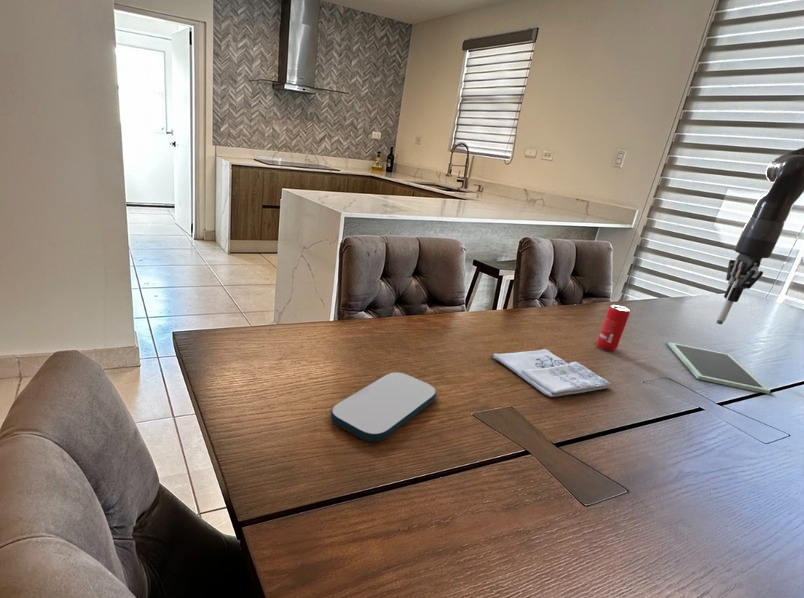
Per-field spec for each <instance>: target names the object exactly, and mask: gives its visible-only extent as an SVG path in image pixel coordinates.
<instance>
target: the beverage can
mask: <svg viewBox="0 0 804 598" xmlns="http://www.w3.org/2000/svg"><path fill="white" fill-rule="evenodd" d="M629 316H630V309H629V308H628V307H626V306H623V305H618V304H610V307H608V309H607V312H606V315H605V318H604V321H603V324H602V326H601V329H600V332H599V335H598V337H597V340H596V343H597V347H598V348H599V349H601V350H604V351H608V352H614V351H615V350H616V349H617V348H618V346H619V343H620V341H621V338H622V335H623V332H624V330H625V327H626V325H627V322H628V318H629Z"/></svg>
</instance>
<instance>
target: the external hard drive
mask: <svg viewBox="0 0 804 598" xmlns="http://www.w3.org/2000/svg"><path fill="white" fill-rule="evenodd" d="M436 396H437V390H436V388H435V387H434V386H433V385H431V384H429V383H427V382H425V381H423V380H421V379H419V378H416V377H414V376H412V375H409V374H407V373H404V372H400V371H395V372H389V373H387V374H385V375H383V376H381V377H380V378H378V379H377V380H375V381H373V382H371V383H369V384H368V385H365V386H364V387H363V388H361V389H359V390H357V391H356V392H354V393H352V394H351V395H349V396H347V397H345V398H344V399H342V400H341V401H339V402H337V403H336V404H335V405H333V407H332V408H331V411H330V419H331V421H332V423H333V424H335V425H336V426H337V427H339V428H340V429H341V428H342V429H343V430H345V431H346V432H348V433H351V434H352V435H353V436H356V437H358V438H359V439H361V440H363V441H366V442H371V443H373V442H380V441H383V440H384V439H387V438H388V437H389V436H391V435H392V434H393V433H394V432H396V431H397V430H399V429H400V428H401V427H402V426H404V425H405V424H406V423H408V422H409V421H410V420H411V419H413V418H414V417H415V416H417V415H418V414H420V413H421V412H422V411H424V410H425V408H427V407H429V406H430V405H431V404H432V403H433V402H434V401H435V400H436Z"/></svg>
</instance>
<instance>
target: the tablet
mask: <svg viewBox="0 0 804 598" xmlns="http://www.w3.org/2000/svg"><path fill="white" fill-rule="evenodd" d="M667 345H668V346H669V348H670V349H671V350H672V351H673V353H674V354H675V355H676V356H677V357H678V358H679V359H680V360H681V362H682V363H683V364H684V365H685V366H686V368H687V369H688V370H689V371H690V372H691V373H692V374H693V376H694V377H695V378H696V379H697V380H700V381H704V382H709V383H715V384H720V385H724V386H728V387H733V388H738V389H743V390H748V391H752V392H757V393H762V394H767V395H770V393H771V389H769V388H768V387H767V386H766V385H765V384H764V383H762V382H761V380H759V379H758V378H757V377H756V376H754V374H753V373H752V372H750V371H749V370H748V369H747V368H746V367H744V365H742V364H741V363H740V362H739V361H738V360H737V359H735V357H733V356H732V355H731V354H730V353H728V352H727V353H726V352H721V351H716V350H711V349H705V348H701V347H697V346H690V345H685V344H681V343H675V342H671V341H669V342H668V344H667Z"/></svg>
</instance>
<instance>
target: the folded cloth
mask: <svg viewBox="0 0 804 598" xmlns="http://www.w3.org/2000/svg"><path fill="white" fill-rule="evenodd" d="M492 358H493V359H494V360H496V361H498V362H499V363H500V364H502V365H504V366H505V367H507V369H510V370H511V371H512V372H514V373H516V374H517V376H519V377H520V378H522V379H523V380H525V382H527V383H528V384H530V385H531V386H533V388H535V389H537V390H538V391H539V392H541V393H542V394H543V395H545V396H546V397H547V396H548V397H549V398H554V397H561V396H569V395H577V394H583V393H587V392H593V391H599V390H604V389H605V390H606V389H608V388H609V386H611V385H612V383H611V382H610V381H609V380H607V379H605V378H603V377H602V376H599V375H598V374H596V373H595V372H594V371H592V370H590V369H589V368H587V367H585V365H582V364H581V363H580V362H578V361H570V362H568V361H565V360H564V359H562V358H561V357H559V356H557V355H555V354H554V353H552V352H551V351H550V350H548V349H545V348H543V349H538V350H537V349H536V350H528V351H519V352H518V351H517V352H506V353H495V352H494V353H493V354H492Z"/></svg>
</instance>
